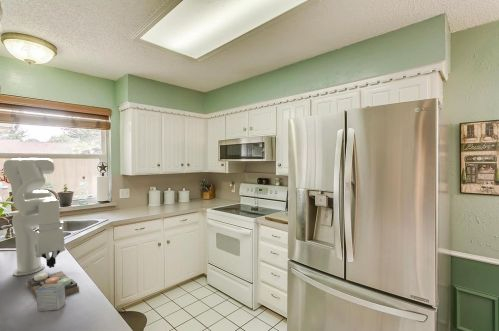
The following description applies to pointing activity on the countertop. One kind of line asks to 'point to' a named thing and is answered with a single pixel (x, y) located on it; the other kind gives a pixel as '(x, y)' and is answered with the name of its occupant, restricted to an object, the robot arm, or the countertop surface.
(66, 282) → the sage button
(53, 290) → the medicine box
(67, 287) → the button panel
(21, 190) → the robot arm
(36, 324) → the countertop surface
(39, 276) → the cream button
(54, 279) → the terracotta button
